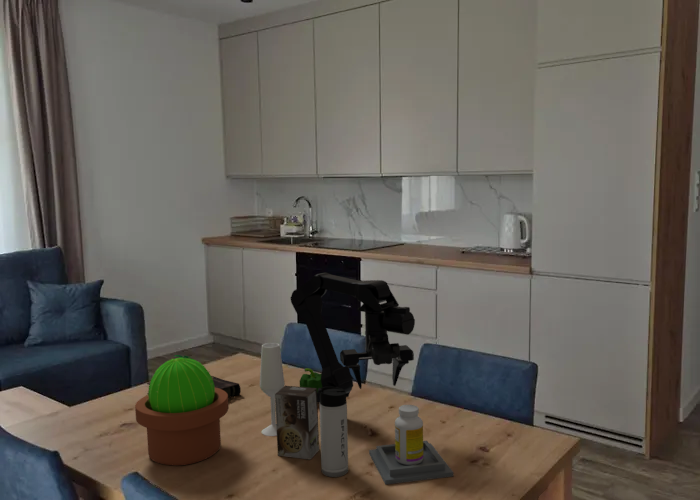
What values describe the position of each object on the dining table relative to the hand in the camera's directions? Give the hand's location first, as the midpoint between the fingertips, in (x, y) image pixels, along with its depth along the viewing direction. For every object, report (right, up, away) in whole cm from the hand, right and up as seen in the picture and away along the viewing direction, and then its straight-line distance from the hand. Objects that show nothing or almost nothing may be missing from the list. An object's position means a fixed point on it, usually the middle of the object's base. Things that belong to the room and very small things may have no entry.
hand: (377, 386), depth 164 cm
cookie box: (-20, -15, -9) cm, 26 cm away
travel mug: (-11, -16, -19) cm, 27 cm away
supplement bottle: (+7, -14, -16) cm, 23 cm away
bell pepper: (-18, -10, +28) cm, 35 cm away
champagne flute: (-28, -13, +5) cm, 31 cm away
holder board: (+7, -15, -16) cm, 23 cm away
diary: (-58, -11, +35) cm, 68 cm away
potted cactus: (-49, -15, -6) cm, 52 cm away
